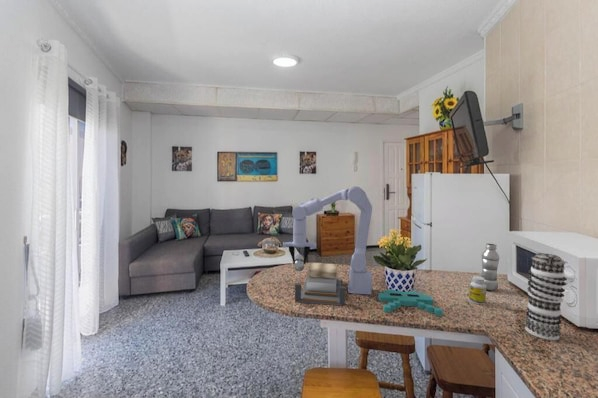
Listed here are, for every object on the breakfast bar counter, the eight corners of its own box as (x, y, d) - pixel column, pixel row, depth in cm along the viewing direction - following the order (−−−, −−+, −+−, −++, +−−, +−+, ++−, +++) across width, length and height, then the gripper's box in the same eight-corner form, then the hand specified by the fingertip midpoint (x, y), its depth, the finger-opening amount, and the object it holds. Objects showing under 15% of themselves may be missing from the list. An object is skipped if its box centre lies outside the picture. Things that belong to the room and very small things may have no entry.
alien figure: (442, 316, 102) (423, 294, 122) (442, 310, 102) (424, 288, 122) (384, 313, 104) (375, 291, 124) (384, 307, 104) (375, 286, 124)
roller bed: (344, 279, 136) (344, 266, 136) (344, 305, 108) (345, 288, 108) (303, 276, 139) (304, 263, 138) (294, 301, 111) (295, 285, 111)
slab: (336, 269, 135) (337, 264, 135) (336, 278, 123) (336, 272, 123) (311, 268, 137) (311, 262, 137) (308, 276, 125) (308, 270, 125)
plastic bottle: (494, 293, 123) (498, 247, 121) (476, 288, 128) (479, 244, 126) (499, 290, 127) (503, 245, 125) (482, 285, 132) (485, 242, 130)
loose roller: (294, 262, 135) (295, 254, 134) (303, 263, 135) (303, 254, 134) (294, 271, 123) (294, 261, 122) (303, 271, 123) (304, 262, 122)
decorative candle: (542, 341, 87) (549, 259, 85) (516, 325, 96) (522, 251, 94) (569, 340, 88) (577, 259, 86) (541, 324, 97) (547, 251, 95)
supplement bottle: (465, 300, 116) (467, 276, 115) (475, 298, 117) (477, 274, 117) (478, 305, 110) (480, 280, 110) (488, 303, 112) (490, 279, 112)
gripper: (315, 231, 131) (315, 261, 132) (283, 231, 131) (283, 260, 132) (316, 234, 124) (315, 265, 125) (282, 234, 124) (282, 265, 125)
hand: (299, 263), depth 128 cm, fingers closed on loose roller, 4 cm apart
